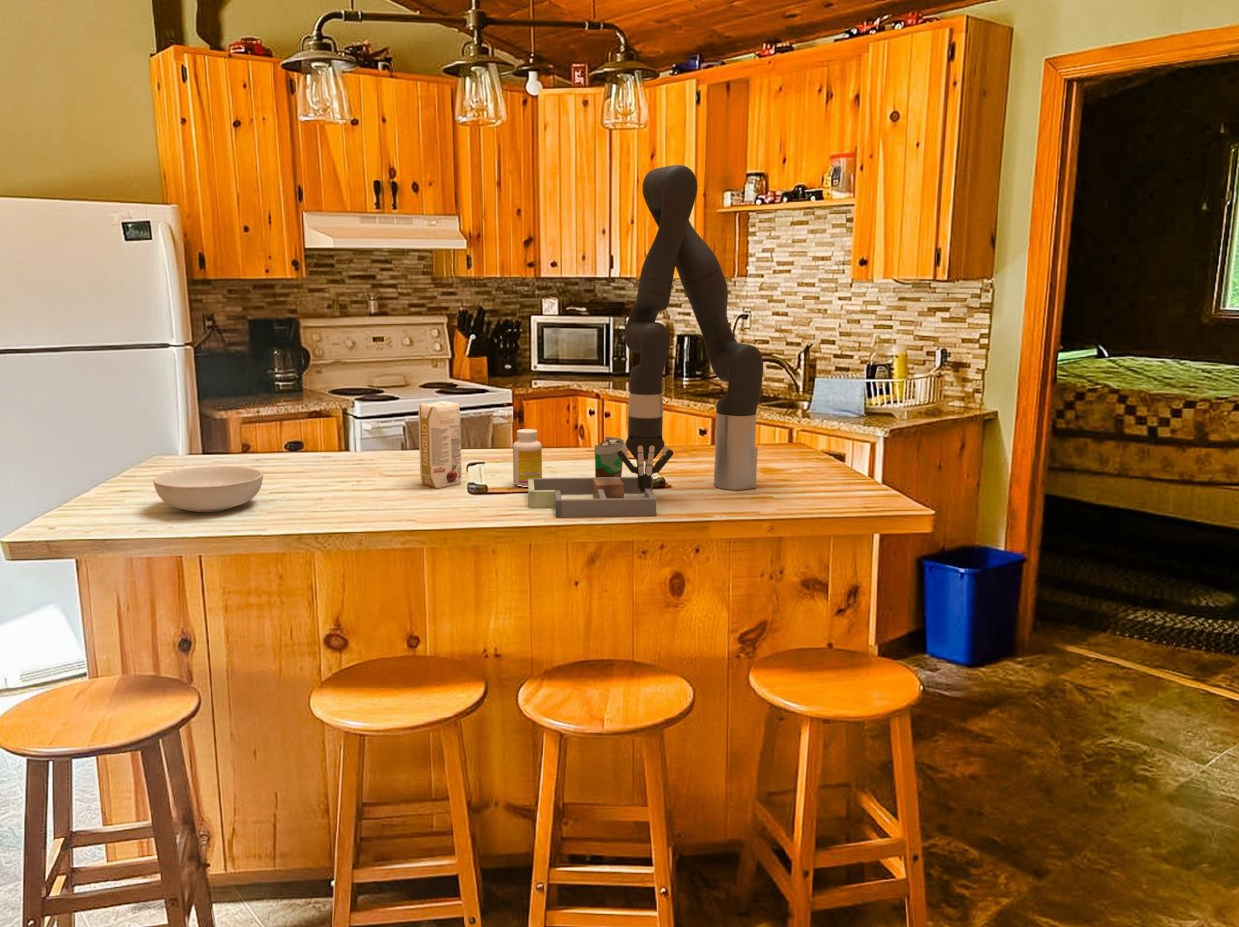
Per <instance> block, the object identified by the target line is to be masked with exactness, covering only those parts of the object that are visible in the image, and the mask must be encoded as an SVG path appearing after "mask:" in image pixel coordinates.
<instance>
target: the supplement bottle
mask: <svg viewBox="0 0 1239 927" xmlns="http://www.w3.org/2000/svg"><path fill="white" fill-rule="evenodd" d="M516 437H517V440H516V441H515V442H513V445H512V473H513V474H512V476H513V477H512V479H513V485H514V484H516V485H521V486H528V478H543V466H542V464H543V459H542V453H543V452H542V451H543V449H542V443H541V442H540V441H538V440H537V437H538V430H537V429H531V428H525V429H524V428H522V429H518V430H517V431H516Z"/></svg>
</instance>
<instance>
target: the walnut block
mask: <svg viewBox="0 0 1239 927" xmlns="http://www.w3.org/2000/svg"><path fill="white" fill-rule="evenodd" d="M598 489H603V491H604V493H605V496H606V498H607V499H610V498H625V493H624V484H623V482H622V481H621V480H620V478H615V479H593V494H592V496H593V499H597V490H598Z"/></svg>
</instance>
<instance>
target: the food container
mask: <svg viewBox="0 0 1239 927" xmlns="http://www.w3.org/2000/svg"><path fill="white" fill-rule="evenodd" d="M625 443H626V442H625V441H624V439H622V438H619V437H615V436H605V440H604V441H603V442H601V443H599V444H595V445H594V452H593V453H594V466H595V470H594V471H595V473H594V477H623V476H622V472H623V464H624V462H623V461H622V460H621V458H620V457H619V456H618V454H617V452H616V451H617V450H618V449H621V448H622V447H623V446H625V445H626V444H625Z"/></svg>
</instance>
